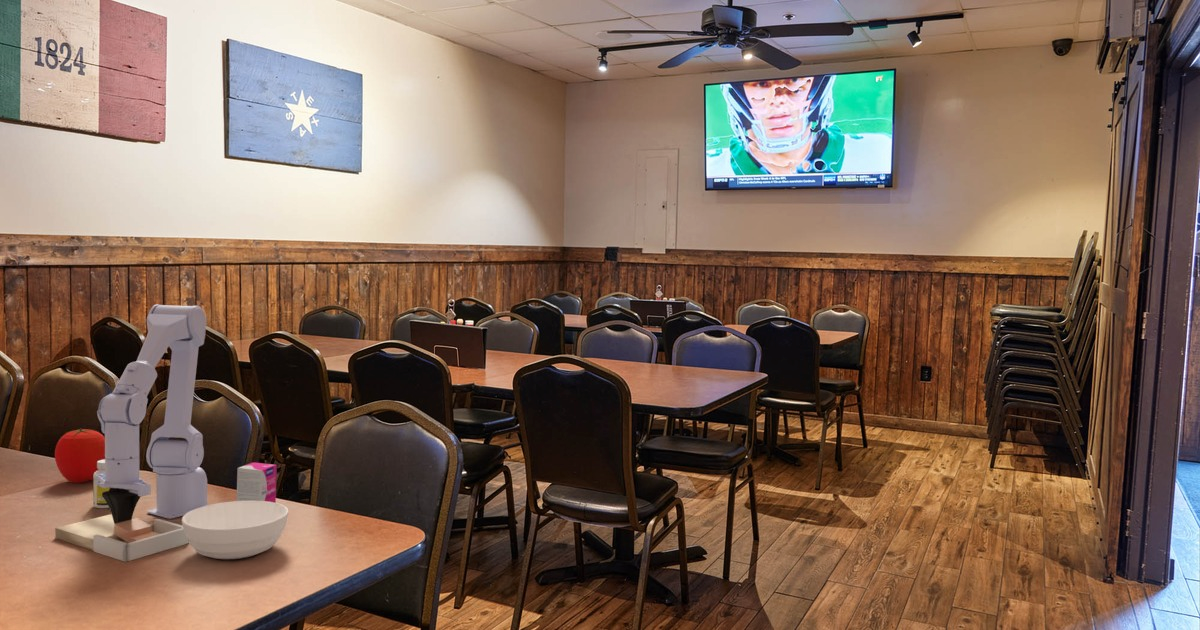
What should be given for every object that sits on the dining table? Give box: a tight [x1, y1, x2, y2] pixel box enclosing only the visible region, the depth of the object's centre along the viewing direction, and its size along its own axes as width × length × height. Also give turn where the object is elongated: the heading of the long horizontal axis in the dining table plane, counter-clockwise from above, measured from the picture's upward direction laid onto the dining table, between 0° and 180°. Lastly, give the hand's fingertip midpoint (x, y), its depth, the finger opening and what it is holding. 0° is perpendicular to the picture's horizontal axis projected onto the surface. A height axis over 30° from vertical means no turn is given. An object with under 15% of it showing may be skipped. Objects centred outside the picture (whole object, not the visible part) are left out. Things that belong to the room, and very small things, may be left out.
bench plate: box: [54, 513, 154, 551], centre depth 168 cm, size 12×13×2 cm
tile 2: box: [128, 531, 159, 543], centre depth 162 cm, size 4×4×2 cm
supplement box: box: [236, 462, 278, 503], centre depth 181 cm, size 6×6×12 cm
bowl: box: [181, 500, 289, 560], centre depth 161 cm, size 18×18×7 cm
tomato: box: [54, 428, 105, 484], centre depth 206 cm, size 11×11×13 cm
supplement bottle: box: [92, 459, 110, 509], centre depth 188 cm, size 5×5×10 cm
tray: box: [93, 518, 190, 563], centre depth 163 cm, size 13×10×3 cm
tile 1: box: [114, 517, 152, 542], centre depth 164 cm, size 4×4×2 cm
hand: (122, 527), depth 165 cm, fingers closed
